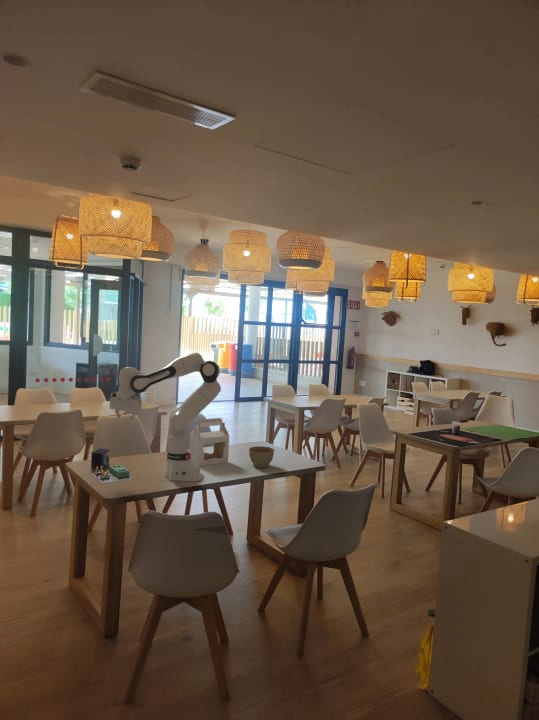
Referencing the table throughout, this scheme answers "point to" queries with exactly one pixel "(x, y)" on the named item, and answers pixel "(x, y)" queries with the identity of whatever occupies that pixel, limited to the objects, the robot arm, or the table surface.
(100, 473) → the chassis
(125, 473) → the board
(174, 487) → the table surface
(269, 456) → the planter bowl
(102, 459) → the small box
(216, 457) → the gable box
